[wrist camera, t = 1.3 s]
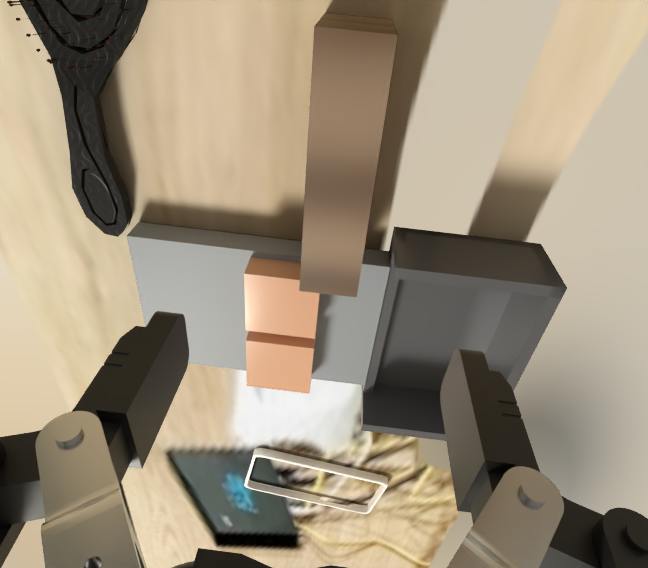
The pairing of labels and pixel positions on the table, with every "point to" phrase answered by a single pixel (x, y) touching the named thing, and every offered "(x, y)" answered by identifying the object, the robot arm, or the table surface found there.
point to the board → (229, 297)
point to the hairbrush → (88, 93)
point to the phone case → (319, 466)
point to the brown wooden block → (343, 147)
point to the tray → (452, 321)
